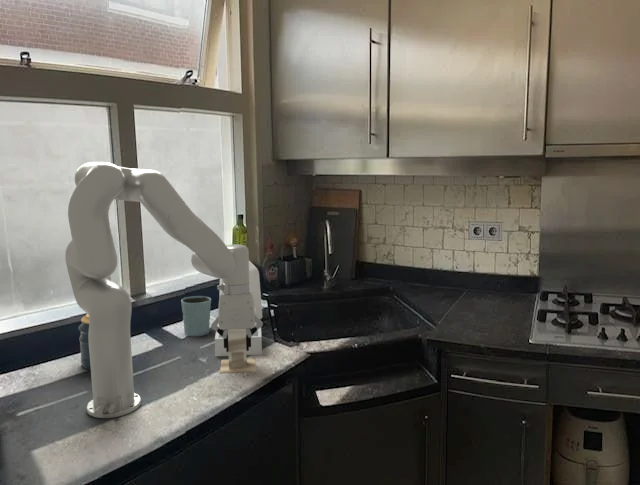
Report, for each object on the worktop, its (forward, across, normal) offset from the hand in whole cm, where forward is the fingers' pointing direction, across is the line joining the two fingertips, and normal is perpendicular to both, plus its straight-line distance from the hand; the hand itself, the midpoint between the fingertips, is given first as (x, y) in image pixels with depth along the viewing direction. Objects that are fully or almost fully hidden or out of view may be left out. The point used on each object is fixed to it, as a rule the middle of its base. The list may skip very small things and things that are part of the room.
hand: (237, 349), depth 154 cm
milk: (+7, 0, +48) cm, 48 cm away
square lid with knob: (+6, 0, 0) cm, 6 cm away
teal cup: (+7, -15, +36) cm, 40 cm away
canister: (+7, -40, +11) cm, 42 cm away
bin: (+6, 0, +16) cm, 17 cm away
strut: (+5, 0, 0) cm, 5 cm away
